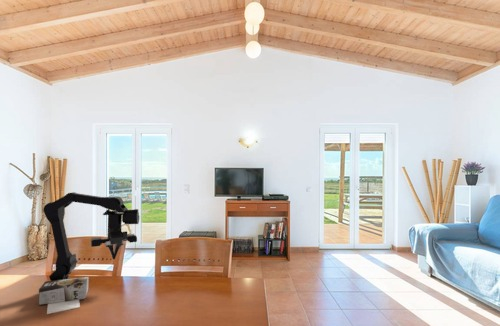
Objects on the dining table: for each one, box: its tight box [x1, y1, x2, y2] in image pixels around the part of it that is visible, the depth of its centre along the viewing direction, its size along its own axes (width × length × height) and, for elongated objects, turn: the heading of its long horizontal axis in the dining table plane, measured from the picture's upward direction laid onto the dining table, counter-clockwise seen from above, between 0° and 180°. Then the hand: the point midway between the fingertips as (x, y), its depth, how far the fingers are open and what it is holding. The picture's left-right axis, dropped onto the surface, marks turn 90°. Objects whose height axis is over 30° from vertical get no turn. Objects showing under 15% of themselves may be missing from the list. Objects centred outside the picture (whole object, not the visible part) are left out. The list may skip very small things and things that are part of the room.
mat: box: [46, 300, 81, 315], centre depth 115 cm, size 14×10×1 cm
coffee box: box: [38, 276, 89, 306], centre depth 120 cm, size 9×6×16 cm
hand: (113, 259), depth 132 cm, fingers closed
